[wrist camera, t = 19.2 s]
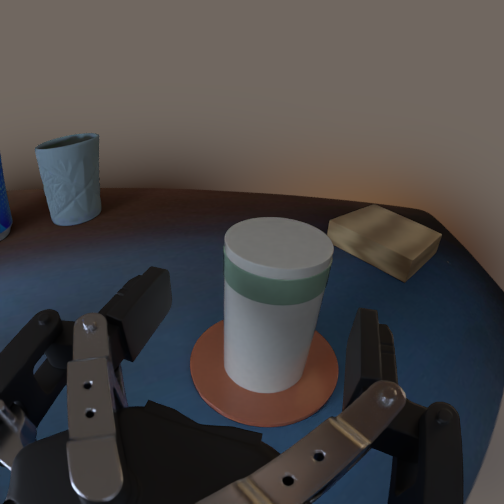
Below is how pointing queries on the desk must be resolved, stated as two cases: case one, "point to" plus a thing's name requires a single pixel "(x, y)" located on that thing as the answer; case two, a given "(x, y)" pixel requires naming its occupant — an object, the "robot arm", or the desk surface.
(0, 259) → the desk surface
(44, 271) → the desk surface
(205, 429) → the robot arm
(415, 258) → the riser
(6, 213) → the beer can
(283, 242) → the canister
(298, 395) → the coaster
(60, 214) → the embossed ceramic tumbler
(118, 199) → the desk surface
